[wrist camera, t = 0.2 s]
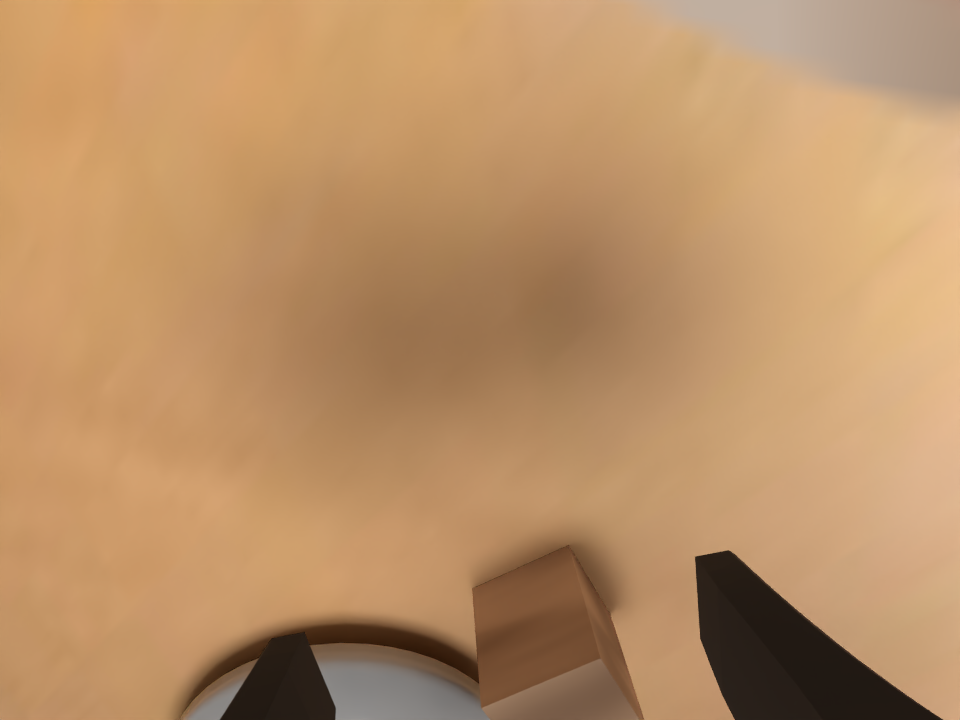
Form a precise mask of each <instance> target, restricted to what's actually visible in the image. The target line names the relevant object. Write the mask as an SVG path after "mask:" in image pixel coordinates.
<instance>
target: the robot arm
mask: <svg viewBox="0 0 960 720" xmlns="http://www.w3.org/2000/svg"><path fill="white" fill-rule="evenodd" d="M695 562H696V578H697V593H698V609H699V625H700V639H701V641H702V644H703V647H704V649H705V652H706V655H707V657H708V660H709V662H710V665H711V668H712V670H713V673H714V675H715V678H716V680H717V683H718V685H719V688H720V690H721V693H722V695H723V697H724V699H725V701H726V703H727V705H728V707H729V709H730V711H731V713H732V715H733V717H734V719H735V720H943V719H941V718H940V717H938V716H937V715H935V714H934V713H932V712H930V711H929V710H927V709H926V708H924V707H923V706H922V705H920V704H919V703H917V702H916V701H914V700H913V699H911V698H910V697H909V696H907V695H906V694H904V693H903V692H901V691H900V690H899V689H897V688H896V687H894V686H893V685H892V684H890V683H889V682H887V681H886V680H885V679H883V678H882V677H881V676H879V675H878V674H877V673H875V672H874V671H873V670H871V669H870V668H869V667H867V666H866V665H865V664H863V663H862V662H861V661H859V660H858V659H857V658H855V657H854V656H853V655H851V654H850V653H849V652H848V651H846V650H845V649H844V648H843V647H841V646H840V645H839V644H837V643H836V642H835V641H834V640H833V639H831V638H830V637H829V636H828V635H826V634H825V633H824V632H823V631H821V630H820V629H819V628H818V627H817V626H815V625H814V624H813V623H812V622H810V621H809V620H808V619H807V618H806V617H804V616H803V615H802V614H801V613H800V612H798V611H797V610H796V609H795V608H794V607H793V606H791V605H790V604H789V603H788V602H787V601H786V600H785V599H783V598H782V597H781V596H780V595H779V594H778V593H777V592H775V591H774V590H773V589H772V588H771V587H770V586H769V585H768V584H767V583H765V582H764V581H763V580H762V579H761V578H760V577H759V576H758V575H757V574H755V573H754V572H753V571H752V570H751V569H750V568H749V567H748V566H747V565H746V564H745V563H744V562H743V561H741V560H740V559H739V558H738V557H737V556H736V555H735V554H734V553H732V552H731V551H729V550H728V551H723V552H717V553H712V554H707V555H702V556H697V557H695ZM335 717H336V707H335V704H334V702H333V700H332V697H331V695H330V692H329V690H328V688H327V685H326V683H325V680H324V678H323V676H322V673H321V671H320V668H319V666H318V664H317V661H316V659H315V656H314V654H313V652H312V649H311V647H310V644H309V642H308V640H307V637H306V635H305V632H303V633H298V634H292V635H287V636H282V637H277V638H272V639H271V641H270V642H269V643H268V645H267V646H266V648H265V649H264V651H263V652H262V654H261V656H260V657H259V659H258V660H257V662H256V663H255V665H254V667H253V668H252V670H251V671H250V673H249V674H248V676H247V678H246V679H245V681H244V682H243V684H242V686H241V687H240V689H239V690H238V692H237V693H236V695H235V697H234V698H233V700H232V701H231V703H230V704H229V706H228V708H227V709H226V711H225V712H224V714H223V715H222V717H221V718H220V720H335Z"/></svg>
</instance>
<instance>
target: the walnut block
mask: <svg viewBox="0 0 960 720" xmlns="http://www.w3.org/2000/svg"><path fill="white" fill-rule="evenodd" d="M472 591H473V605H474V618H475V632H476V645H477V659H478V672H479V686H480V700H481V709H482V710H483V711H484V712H485V714H486V715H487V716H488V718H489V719H490V720H644V718H643V714H642V711H641V708H640V705H639V702H638V699H637V696H636V693H635V690H634V687H633V683H632V680H631V677H630V674H629V671H628V668H627V665H626V662H625V659H624V656H623V653H622V649H621V646H620V643H619V640H618V637H617V634H616V631H615V628H614V625H613V622H612V619H611V615H610V614H609V612H608V610H607V608H606V607H605V605H604V603H603V602H602V600H601V598H600V597H599V595H598V593H597V592H596V590H595V588H594V587H593V585H592V583H591V582H590V580H589V578H588V577H587V575H586V573H585V572H584V570H583V568H582V567H581V565H580V563H579V562H578V560H577V558H576V557H575V555H574V553H573V552H572V550H571V548H570V547H569V545H568V546H566V547H564V548H561V549H559V550H557V551H555V552H553V553H550V554H548V555H546V556H544V557H541V558H539V559H537V560H535V561H533V562H530V563H528V564H526V565H524V566H521V567H519V568H517V569H515V570H513V571H510V572H508V573H506V574H504V575H501V576H499V577H497V578H495V579H493V580H490V581H488V582H486V583H484V584H481V585H479V586H477V587H475V588H473V589H472Z"/></svg>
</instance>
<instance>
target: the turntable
mask: <svg viewBox="0 0 960 720" xmlns="http://www.w3.org/2000/svg"><path fill="white" fill-rule="evenodd" d="M310 647H311V649H312V652H313V654H314V656H315V659H316V661H317V664H318V666H319V668H320V671H321V673H322V676H323V678H324V680H325V683H326V685H327V688H328V690H329V692H330V695H331V697H332V700H333V702H334V704H335V707H336V717H335V720H490V719H489V718H488V716H487V715H486V714H485V712H484V711H483V710H482V709H481V700H480V686H479V684H478V683H477V682H476V681H474V680H473V679H472V678H470V677H469V676H467V675H465V674H464V673H462V672H460V671H459V670H457V669H456V668H454V667H451V666H449V665H447V664H445V663H443V662H440V661H438V660H436V659H433V658H430V657H427V656H424V655H421V654H418V653H415V652H412V651H407V650H403V649H398V648H394V647H389V646H380V645H372V644H359V643H333V644H319V645H310ZM258 659H259V658H258ZM258 659H256V660H253V661H250V662H248V663H245V664H243V665H241V666H239V667H237V668H236V669H234V670H232V671H230V672H228V673H226V674H224V675H223V676H222V677H220V678H219V679H217V680H216V681H214V682H213V683H212V684H210V685H209V686H207V687H206V688H205V689H204V690H203V691H202V692H201V693H200V694H199V695H198V696H197V697H196V698H195V699H194V700H193V701H192V702H191V704H190V705H189V706H188V707H187V709H186V710H185V711H184V713H183V714H182V716H181V718H180V720H220V718H221V717H222V715H223V714H224V712H225V711H226V709H227V708H228V706H229V704H230V703H231V701H232V700H233V698H234V697H235V695H236V693H237V692H238V690H239V689H240V687H241V686H242V684H243V682H244V681H245V679H246V678H247V676H248V674H249V673H250V671H251V670H252V668H253V667H254V665H255V663H256V662H257V660H258Z"/></svg>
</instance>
